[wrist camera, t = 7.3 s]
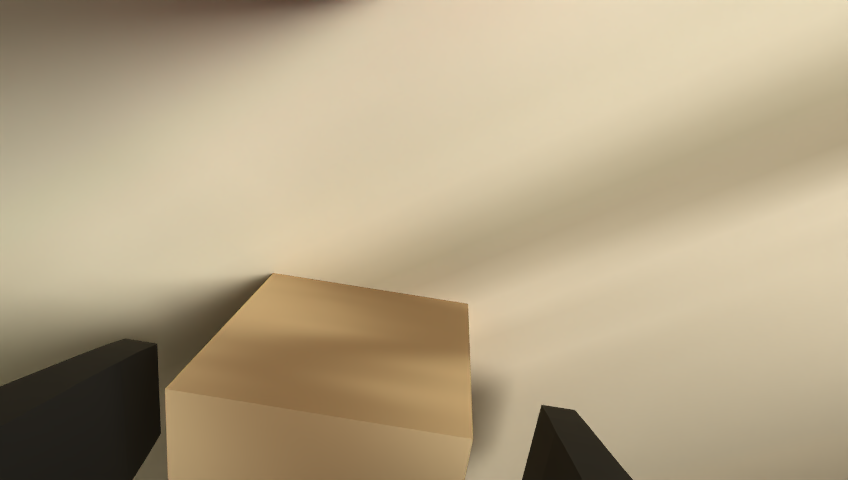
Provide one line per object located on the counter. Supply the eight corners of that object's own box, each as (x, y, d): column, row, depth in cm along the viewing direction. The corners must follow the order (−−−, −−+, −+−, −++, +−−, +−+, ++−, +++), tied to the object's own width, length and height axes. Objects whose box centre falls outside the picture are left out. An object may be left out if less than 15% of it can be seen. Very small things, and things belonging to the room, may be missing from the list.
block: (467, 302, 10) (472, 439, 6) (438, 458, 11) (428, 649, 8) (274, 271, 10) (164, 389, 6) (267, 430, 11) (172, 606, 8)
